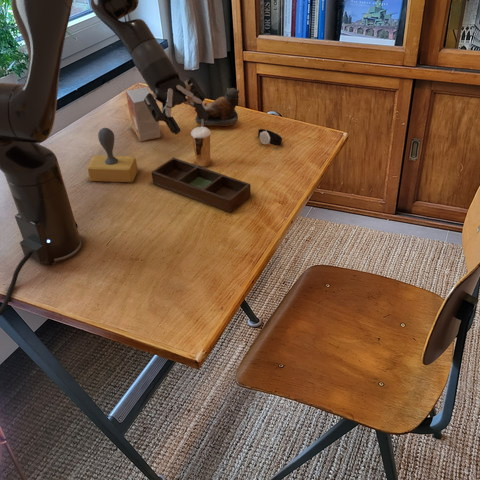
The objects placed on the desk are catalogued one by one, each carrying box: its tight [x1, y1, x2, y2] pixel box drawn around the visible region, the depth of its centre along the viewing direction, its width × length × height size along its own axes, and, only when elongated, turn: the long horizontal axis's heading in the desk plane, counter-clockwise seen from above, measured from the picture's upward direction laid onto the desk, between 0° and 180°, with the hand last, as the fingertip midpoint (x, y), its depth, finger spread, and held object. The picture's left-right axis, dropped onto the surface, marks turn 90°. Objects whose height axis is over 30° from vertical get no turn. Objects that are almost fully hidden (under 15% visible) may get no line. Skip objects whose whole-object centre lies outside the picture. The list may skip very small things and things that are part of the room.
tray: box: [150, 157, 252, 214], centre depth 130 cm, size 8×22×3 cm, turn 58°
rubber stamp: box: [86, 127, 139, 183], centre depth 131 cm, size 10×6×12 cm, turn 87°
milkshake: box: [190, 119, 211, 168], centre depth 137 cm, size 4×5×10 cm
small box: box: [125, 86, 162, 142], centre depth 148 cm, size 8×6×10 cm
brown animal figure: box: [195, 87, 240, 127], centre depth 152 cm, size 12×7×10 cm, turn 85°
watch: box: [257, 128, 283, 147], centre depth 146 cm, size 8×5×4 cm, turn 41°
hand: (192, 126), depth 136 cm, fingers open, 8 cm apart
